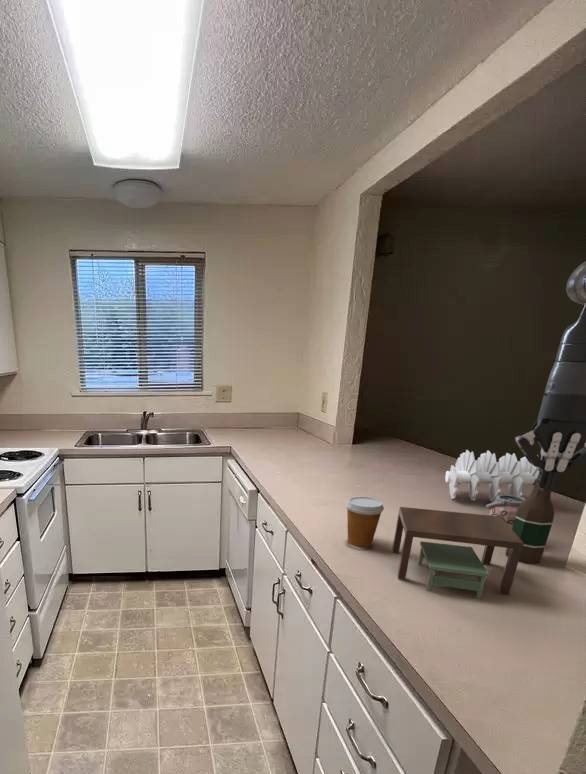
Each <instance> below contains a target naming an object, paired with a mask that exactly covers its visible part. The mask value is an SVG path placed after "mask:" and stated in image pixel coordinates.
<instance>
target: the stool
mask: <svg viewBox="0 0 586 774" xmlns="http://www.w3.org/2000/svg"><path fill="white" fill-rule="evenodd" d="M419 545H420V551H419V555H418V556H419V557H418V561H417V565H418V566H423V562H424V559H425V561H426V564H427V566H428V569H429V573H428V578H427V584H426V589H425V590H426V591H429V592H430V591H432V587H433V585H434V586H441V587H446V588H447V587H448V588H456V589H462V590H468V591H476V592H475V597H476V598H478V599H481V598H482V595H483V592H484V591H483V590H484V586H485V584H486V579H487V578H488V577H489V572H488V570H487V569H486V567H485V565H484V564H482V562H481V561H482V560H481V559H480V558H479V556H478V554H477V553H476V551H475V550H474V549H473V547H472V546H465V545H457V544H448V543H447V544H446V543H438V542H432V541H431V542H429V541H419ZM436 571H441V572H446V573H447V572H448V573H456V574H463V575H471V576H476V577H477V576H478V577H479V579H473V578H467V577H466V578H465V577H458V576H451V575H444V574H443V575H442V574H436Z"/></svg>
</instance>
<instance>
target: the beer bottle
mask: <svg viewBox="0 0 586 774" xmlns="http://www.w3.org/2000/svg"><path fill="white" fill-rule="evenodd" d="M538 471H540V468H539V469H538ZM537 478H538V477H537ZM536 482H537V479H535V482H534V484H533V488H532V490H531V493H530V495H529V496H528V497H527V498H525V500H524V501H523V502H522V503H521V505H520V506H519V508H518V511H517V513H516V516H515V520H514V523H513V527H512V530H513V532H514V533H515V534H516V535H517V536H518V537H519V538H520V539H521V541H522V542H523V543H524V545H523V548H522V551H521V555H520V558H519V562H520V563H522V564H523V563H524V564H530V565H531V564H539V563H540V562H541V560H542V558H543V555H544V551H545V548H546V545H547V542H548V540H549V536H550V532H551V529H552V526H553V522H554V517H555V507H554V504H553V502H552V500H551V497H552V492H547V491H541V490H540V489H539V487H538V486H537V484H536ZM510 549H511V548H506V550H505V556H506V557H507V558H508V557H509V553H510ZM519 562H518V563H519Z"/></svg>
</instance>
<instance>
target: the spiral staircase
mask: <svg viewBox="0 0 586 774" xmlns="http://www.w3.org/2000/svg"><path fill="white" fill-rule="evenodd" d="M538 469H539V467H535V466H534V465H533V464H531V463H529V461H528V460H527V458H526V457H525V456H523V457H521V458H520V460H518V459H517V456H516V453H514V452H513V453H512V454H510V453H509V452H506V453H505V455H502V456H501V457H500V458H498V461H497V456H496V453H495V452H493V453H492V452H491V451H490V450H489V449H488V450H486V452H483V453H480V456H479V457H478V458H477V459H475V454H474V451H471V452H470V451H469V449H465V452H462V453H460V454H459V457H457V459H456V462H455V465H454V464H451V466H450V470H446V471H445V474H444V475H445V476H444V481H445V483H449V485H448V486H449V487H448V488H449V495H450V496H449V497H450V498H451V500H454V499H456V496H457V492H458V487H459V486H460V484H467V485H468V496H469V499H470V501H476V498H477V495H478V493H479V490H478V489H479V488H478V487H480V484H488V488H487V490H488V491H487V492H488V499H489V501H491V502H490V503H493V502H495V501H496V498H497V496H498V495H500V494H501V491H502V490H501V486H502V485H508V489H507V492H508V495H513V496H518V497H523V490H522V488H523V485H529V486H531V485H535V482H536V480H537V477H538V474H539V471H538Z"/></svg>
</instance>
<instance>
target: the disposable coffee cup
mask: <svg viewBox="0 0 586 774" xmlns="http://www.w3.org/2000/svg"><path fill="white" fill-rule="evenodd" d="M345 506H346V510H347V542H348V543H349V544H350V545H352V546H356V547H362V548H364V547H365V548H366V547H370V546H372V544H373V541H374V537H375V535H376V531H377V528H378V526H379V525H378V524H379V521H380V517H381V514H382V513H383V511H384V510H385V507H384V505H383V502H382V501H381V500H380V499H377V498H374V497H370V496H353V497H350V498H348V500H347V502H346V503H345Z"/></svg>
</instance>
